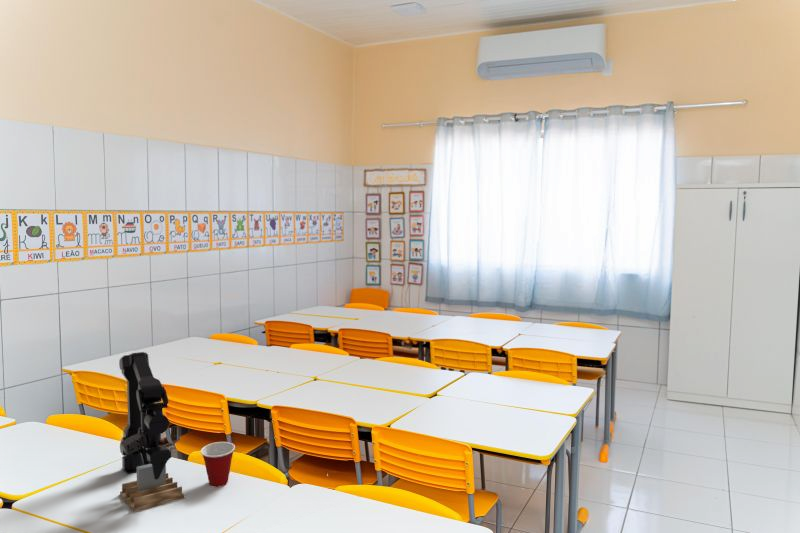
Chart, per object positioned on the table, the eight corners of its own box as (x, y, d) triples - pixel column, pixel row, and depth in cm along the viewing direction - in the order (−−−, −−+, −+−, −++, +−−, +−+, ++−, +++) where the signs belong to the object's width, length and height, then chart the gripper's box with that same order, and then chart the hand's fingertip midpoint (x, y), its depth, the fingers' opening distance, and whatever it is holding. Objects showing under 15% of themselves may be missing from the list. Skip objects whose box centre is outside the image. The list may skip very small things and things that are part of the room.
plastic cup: (193, 487, 200) (193, 450, 199) (215, 474, 210) (215, 439, 209) (221, 493, 196) (220, 456, 195) (242, 480, 206) (242, 444, 205)
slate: (163, 488, 196) (163, 460, 196) (166, 491, 194) (165, 463, 194) (137, 495, 191) (136, 466, 191) (139, 498, 189) (138, 469, 189)
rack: (168, 482, 203) (168, 472, 203) (184, 498, 192) (184, 487, 192) (120, 494, 194) (119, 483, 193) (133, 511, 183) (133, 500, 183)
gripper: (114, 421, 193) (115, 470, 195) (132, 438, 179) (133, 491, 180) (151, 415, 200) (152, 462, 202) (171, 430, 186) (172, 481, 187)
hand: (151, 474), depth 192 cm, fingers open, 9 cm apart
